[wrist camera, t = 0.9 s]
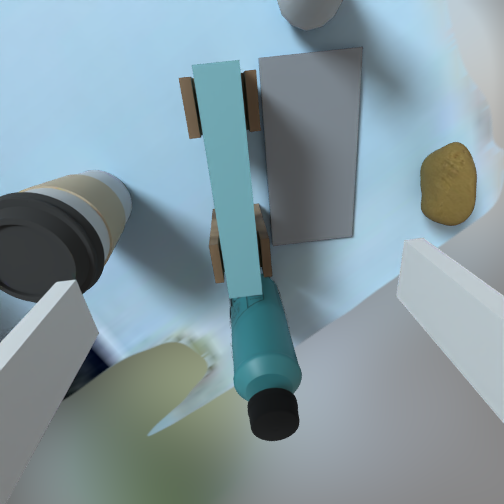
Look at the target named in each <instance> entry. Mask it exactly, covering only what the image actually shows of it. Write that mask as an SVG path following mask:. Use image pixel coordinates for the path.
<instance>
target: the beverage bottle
mask: <svg viewBox="0 0 504 504" xmlns="http://www.w3.org/2000/svg"><path fill="white" fill-rule="evenodd" d="M261 284H262V294H261V295H253V296H245V297H237V298H230V301H231V307H230V306H229V307H230V320H231V322H230V325H231V326H232V345H231V346H232V349H233V357H232V358H233V362H234V387H235V389H236V391H237V392H238V394H239V395H240V396H241V397H242V398H244V399H245V400H247V401H249V402H248V415H249V418H250V425H251V430H252V432H253V434H254V435H255V436H256V437H258V438H260V439H262V440H267V441H277V440H282V439H285V438H287V437H289V436H291V435H292V434H293V433H294V432H295V431H296V430H297V429H298V426H299V415H298V404H297V400H296V397H295V396H294V392H295V391H296V390H297V388H298V387H299V385H300V382H301V378H302V373H301V369H300V367H299V364H298V361H297V357H296V354H295V350H294V347H293V343H292V340H291V336H290V333H289V329H288V324H287V320H286V317H285V313H284V310H285V309H284V308H283V306H282V302H281V300H280V299H281V298H280V296H281V295H280V296H279V294H280V292H279V293H278V291H279V290H278V289H277V288H278V287H277V286H276V285H277V284H275V283H274V281H272V280H271V279H270V278H269V277H264V275H263V274H261ZM283 309H284V310H283ZM289 328H290V327H289ZM231 354H232V353H231Z"/></svg>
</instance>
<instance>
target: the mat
mask: <svg viewBox="0 0 504 504" xmlns="http://www.w3.org/2000/svg"><path fill="white" fill-rule="evenodd" d="M362 50H363V47H357V48H347V49H338V50H329V51H319V52H310V53H301V54H291V55H282V56H273V57H263V58H259V71H260V84H261V98H262V111H263V125H264V138H265V151H266V165H267V178H268V192H269V205H270V218H271V232H272V244H273V246H278V245H286V244H294V243H302V242H310V241H318V240H326V239H334V238H343V237H351V236H352V226H353V208H354V191H355V173H356V155H357V138H358V120H359V103H360V85H361V67H362Z"/></svg>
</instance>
